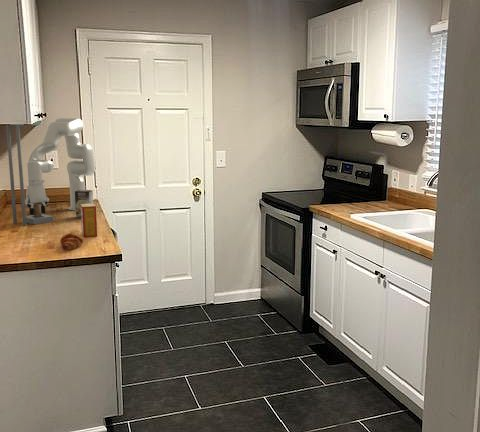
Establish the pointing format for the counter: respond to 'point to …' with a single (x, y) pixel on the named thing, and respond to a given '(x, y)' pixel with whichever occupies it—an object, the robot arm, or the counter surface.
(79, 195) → the coffee box
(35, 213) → the peg
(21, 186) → the grey two-post stand
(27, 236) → the counter surface
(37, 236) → the counter surface
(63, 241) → the croissant
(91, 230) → the baking soda box
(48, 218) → the socket
